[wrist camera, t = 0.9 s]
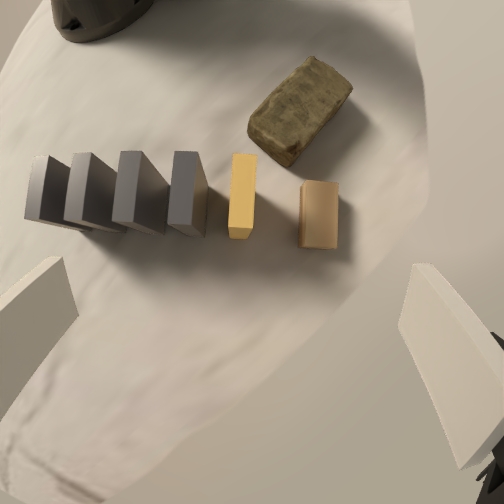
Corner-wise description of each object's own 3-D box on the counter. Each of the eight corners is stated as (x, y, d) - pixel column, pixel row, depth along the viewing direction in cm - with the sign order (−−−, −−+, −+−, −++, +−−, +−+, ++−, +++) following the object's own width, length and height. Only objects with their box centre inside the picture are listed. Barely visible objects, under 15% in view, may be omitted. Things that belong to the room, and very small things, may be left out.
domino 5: (229, 238, 30) (227, 226, 21) (233, 187, 31) (233, 153, 21) (246, 239, 31) (253, 228, 21) (249, 188, 31) (257, 154, 21)
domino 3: (148, 234, 30) (111, 221, 20) (153, 184, 30) (120, 151, 20) (164, 234, 30) (133, 221, 20) (168, 184, 30) (141, 150, 20)
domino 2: (111, 232, 30) (63, 219, 20) (116, 183, 30) (73, 153, 20) (126, 232, 30) (81, 220, 20) (131, 183, 30) (91, 152, 20)
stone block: (241, 140, 31) (243, 119, 26) (303, 73, 32) (313, 48, 27) (287, 174, 31) (297, 158, 26) (345, 102, 32) (360, 80, 27)
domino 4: (188, 236, 30) (167, 223, 20) (192, 185, 30) (174, 151, 20) (204, 237, 30) (191, 224, 20) (208, 185, 31) (197, 151, 21)
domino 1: (78, 230, 30) (24, 218, 20) (83, 183, 30) (33, 156, 20) (91, 231, 30) (38, 219, 20) (96, 183, 30) (48, 155, 20)
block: (298, 247, 31) (304, 246, 28) (300, 187, 31) (306, 179, 28) (327, 249, 31) (336, 248, 28) (329, 190, 31) (338, 183, 28)
